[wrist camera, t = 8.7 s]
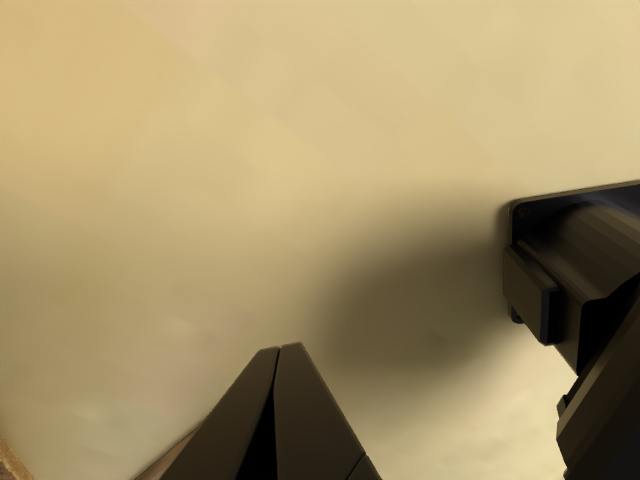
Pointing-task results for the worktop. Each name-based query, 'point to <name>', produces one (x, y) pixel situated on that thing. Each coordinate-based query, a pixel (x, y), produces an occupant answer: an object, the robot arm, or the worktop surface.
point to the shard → (11, 465)
